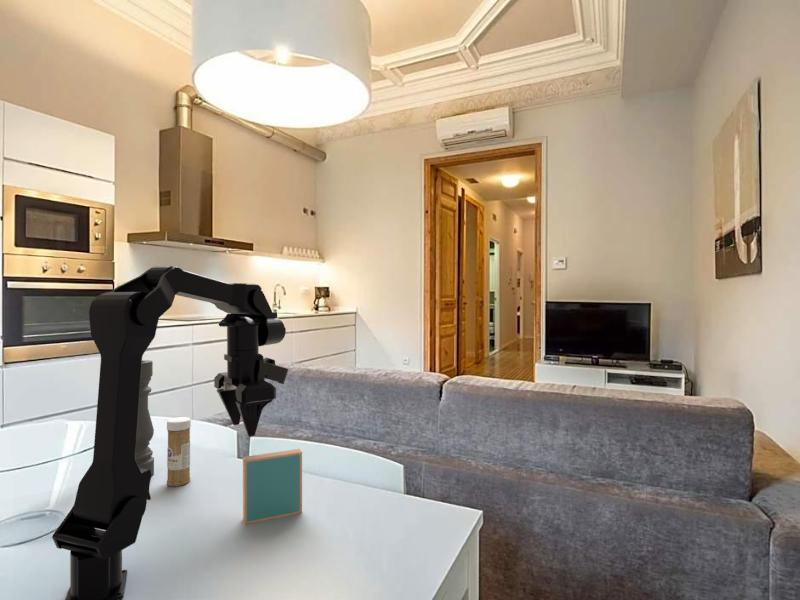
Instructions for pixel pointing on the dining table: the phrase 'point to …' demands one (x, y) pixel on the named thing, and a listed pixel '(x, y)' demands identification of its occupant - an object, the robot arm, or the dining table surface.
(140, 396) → the candle holder
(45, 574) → the dining table surface
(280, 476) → the tile
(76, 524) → the robot arm
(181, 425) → the sprinkles bottle
